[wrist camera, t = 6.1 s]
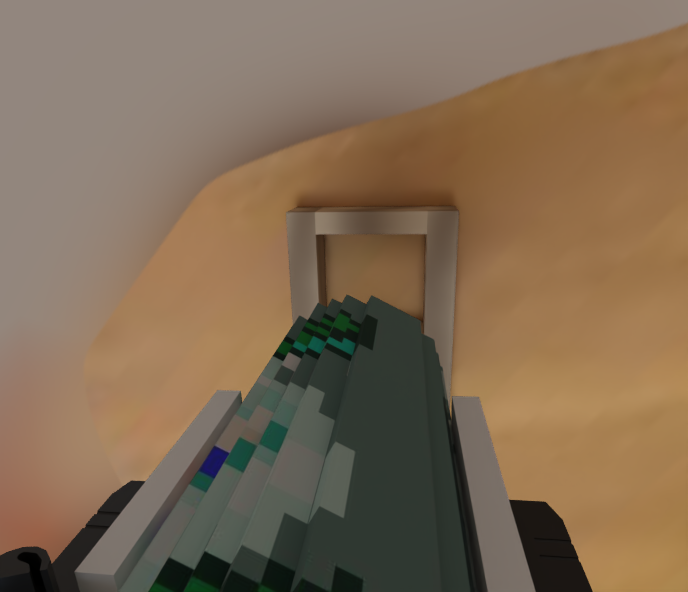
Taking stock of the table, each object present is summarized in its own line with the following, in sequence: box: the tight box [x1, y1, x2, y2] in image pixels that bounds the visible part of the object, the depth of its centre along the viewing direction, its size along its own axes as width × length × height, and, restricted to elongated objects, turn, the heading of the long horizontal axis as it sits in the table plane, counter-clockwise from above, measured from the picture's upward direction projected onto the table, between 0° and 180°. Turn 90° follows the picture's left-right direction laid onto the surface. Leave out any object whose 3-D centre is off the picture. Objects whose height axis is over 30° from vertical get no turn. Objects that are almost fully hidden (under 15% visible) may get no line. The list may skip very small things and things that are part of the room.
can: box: [119, 295, 478, 592], centre depth 11 cm, size 6×6×15 cm
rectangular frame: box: [286, 206, 459, 407], centre depth 35 cm, size 12×19×3 cm, turn 2°
